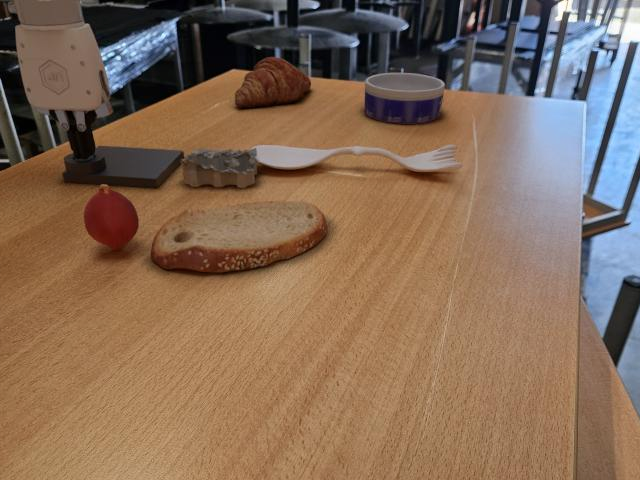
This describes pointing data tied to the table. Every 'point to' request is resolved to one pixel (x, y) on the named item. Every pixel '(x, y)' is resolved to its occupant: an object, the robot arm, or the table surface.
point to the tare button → (84, 159)
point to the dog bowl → (403, 97)
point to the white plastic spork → (307, 157)
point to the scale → (123, 166)
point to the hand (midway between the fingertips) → (85, 155)
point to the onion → (111, 218)
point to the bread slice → (238, 236)
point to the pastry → (272, 84)
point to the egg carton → (220, 167)
